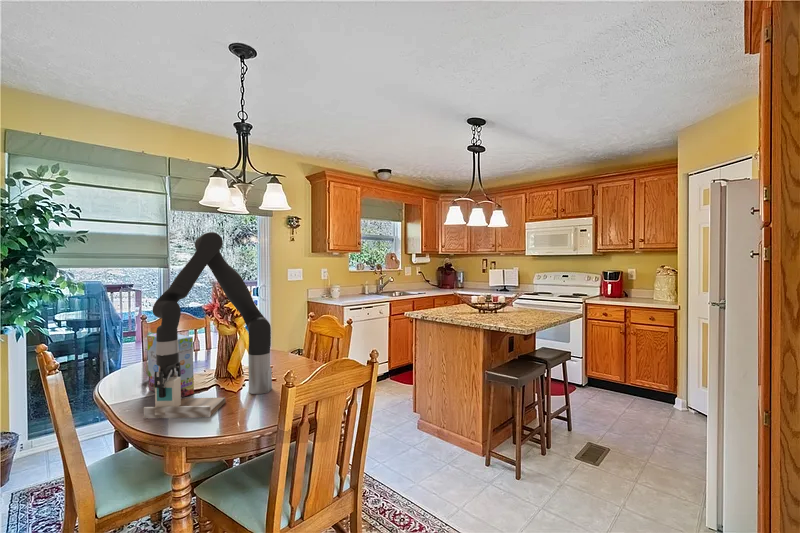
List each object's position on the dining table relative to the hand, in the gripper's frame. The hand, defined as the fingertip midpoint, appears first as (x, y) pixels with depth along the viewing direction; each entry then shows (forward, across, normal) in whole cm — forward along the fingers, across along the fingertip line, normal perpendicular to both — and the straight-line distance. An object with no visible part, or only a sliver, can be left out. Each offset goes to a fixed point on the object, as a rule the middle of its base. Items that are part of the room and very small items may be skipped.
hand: (168, 393), depth 150 cm
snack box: (+8, -23, -11) cm, 26 cm away
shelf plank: (+8, -3, +6) cm, 10 cm away
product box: (+6, 0, 0) cm, 6 cm away
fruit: (+8, -43, -27) cm, 51 cm away
